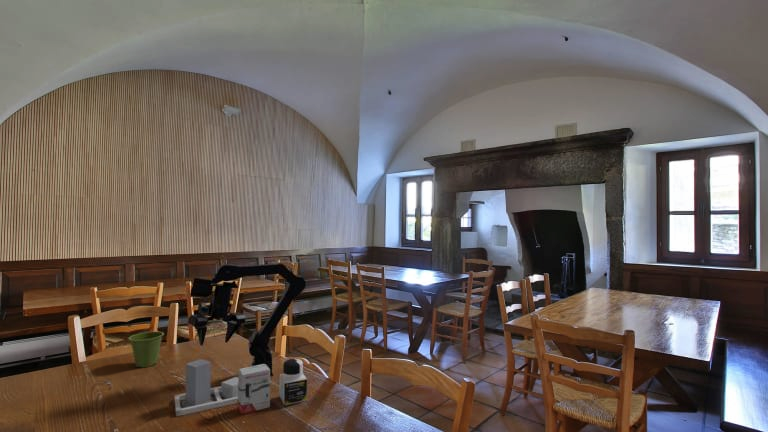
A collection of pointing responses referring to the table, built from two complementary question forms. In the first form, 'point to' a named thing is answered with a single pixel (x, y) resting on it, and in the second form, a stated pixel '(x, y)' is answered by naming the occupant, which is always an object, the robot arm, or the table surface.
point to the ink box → (253, 388)
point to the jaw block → (198, 382)
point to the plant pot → (146, 347)
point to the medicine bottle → (292, 382)
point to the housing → (206, 406)
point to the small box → (229, 388)
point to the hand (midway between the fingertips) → (213, 343)
